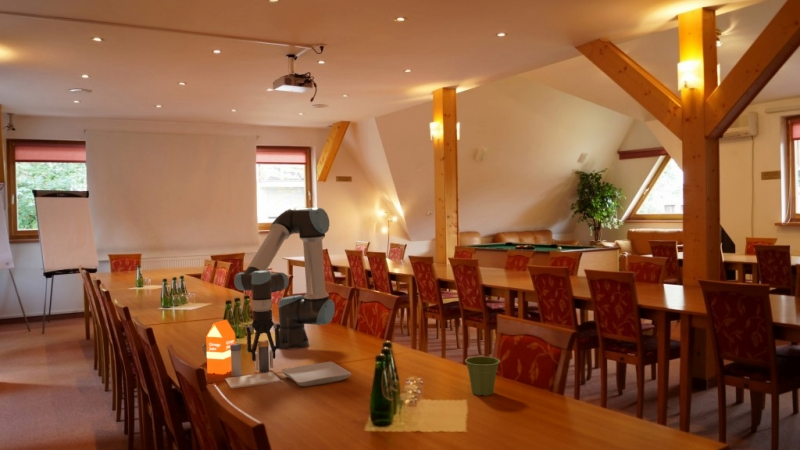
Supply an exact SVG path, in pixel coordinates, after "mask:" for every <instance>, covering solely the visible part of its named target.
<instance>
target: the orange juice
mask: <svg viewBox="0 0 800 450" xmlns="http://www.w3.org/2000/svg"><path fill="white" fill-rule="evenodd" d="M205 338H206V339H205V340H206V343H205V344H207V358H206V367H207V371H206V372H207V374H213V373H215V375H225V374H228V373H230V372H231V351H230V345H231V344H236V333H235V331H234V330H233V328H232V326H231V324H230V323H229V321H228V320H227V319H223V320H221V321H217V322H214V323H213V324H212V326H211V328H210V329H209V331H208V332H207V335H206V336H205ZM227 372H228V373H227Z"/></svg>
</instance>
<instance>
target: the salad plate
mask: <svg viewBox="0 0 800 450" xmlns="http://www.w3.org/2000/svg"><path fill="white" fill-rule="evenodd" d="M280 371H281V373H282V374H283V375H284V376H286V377H287V378H289V379H291V380H292V382H294V383H295V384H297V385H298V386H300V387H310V386H312V387H313V386H318V385H324V384H330V383H335V382H339V381H343V380H346V379H348V378H349V377H350V376H351V375H352V372H351V371H349V370H347V369H345V368H344V367H342V366H340V365H338V364H337V363H335V362H334V361H326V362H318V363H312V364H305V365H300V366H294V367H288V368H284V369H281V370H280Z"/></svg>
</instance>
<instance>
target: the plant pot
mask: <svg viewBox="0 0 800 450" xmlns="http://www.w3.org/2000/svg"><path fill="white" fill-rule="evenodd" d="M464 362H465V363H466V368H467V370H468V376H469V382H470V388H471V394H473V395H476V396H485V397H487V396H492V395H493V394H494V390H495V385H496V384H495V383H496V379H497V373H498V368H499V364H500V363H501V360H500V359H499V358H496V357H491V356H483V355H482V356H471V357H467V358H466V359H465V360H464ZM491 394H492V395H491Z"/></svg>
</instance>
